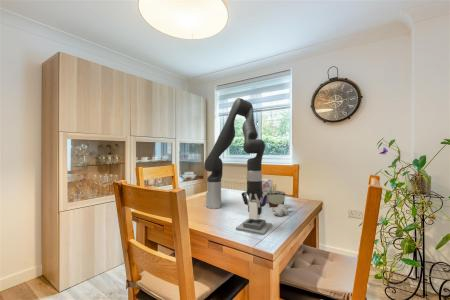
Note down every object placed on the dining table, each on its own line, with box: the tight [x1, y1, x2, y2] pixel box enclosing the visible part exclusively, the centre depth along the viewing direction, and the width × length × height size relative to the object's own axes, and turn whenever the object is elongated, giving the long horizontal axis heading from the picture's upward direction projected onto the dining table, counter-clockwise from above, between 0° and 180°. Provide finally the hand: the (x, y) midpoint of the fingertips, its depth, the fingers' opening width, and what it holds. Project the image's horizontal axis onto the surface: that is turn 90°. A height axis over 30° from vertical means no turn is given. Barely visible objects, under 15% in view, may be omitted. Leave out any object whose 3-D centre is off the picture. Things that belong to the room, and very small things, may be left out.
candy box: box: [255, 178, 273, 204], centre depth 155 cm, size 14×6×16 cm, turn 117°
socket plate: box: [235, 218, 273, 236], centre depth 108 cm, size 14×14×3 cm
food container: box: [267, 190, 287, 208], centre depth 145 cm, size 12×6×10 cm, turn 84°
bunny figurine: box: [272, 204, 293, 217], centre depth 130 cm, size 10×5×15 cm
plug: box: [248, 200, 261, 220], centre depth 108 cm, size 4×5×8 cm
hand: (254, 213), depth 108 cm, fingers closed on plug, 4 cm apart
